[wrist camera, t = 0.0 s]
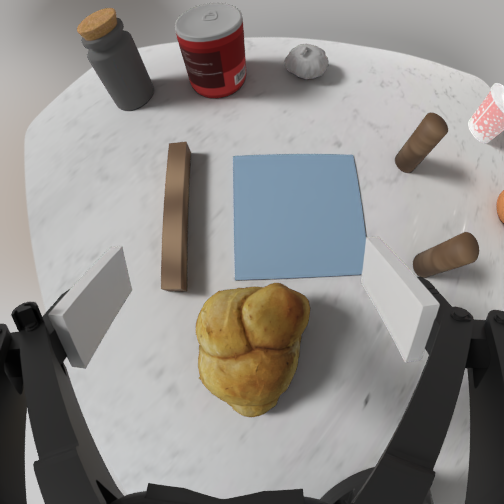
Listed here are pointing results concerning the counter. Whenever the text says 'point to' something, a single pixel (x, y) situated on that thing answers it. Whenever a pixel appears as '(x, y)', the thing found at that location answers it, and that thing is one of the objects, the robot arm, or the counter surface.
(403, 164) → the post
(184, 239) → the bar
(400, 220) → the counter surface
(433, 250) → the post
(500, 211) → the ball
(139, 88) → the bottle
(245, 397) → the bread roll
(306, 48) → the garlic
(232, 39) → the canned food
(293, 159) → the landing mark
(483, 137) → the beverage cup
